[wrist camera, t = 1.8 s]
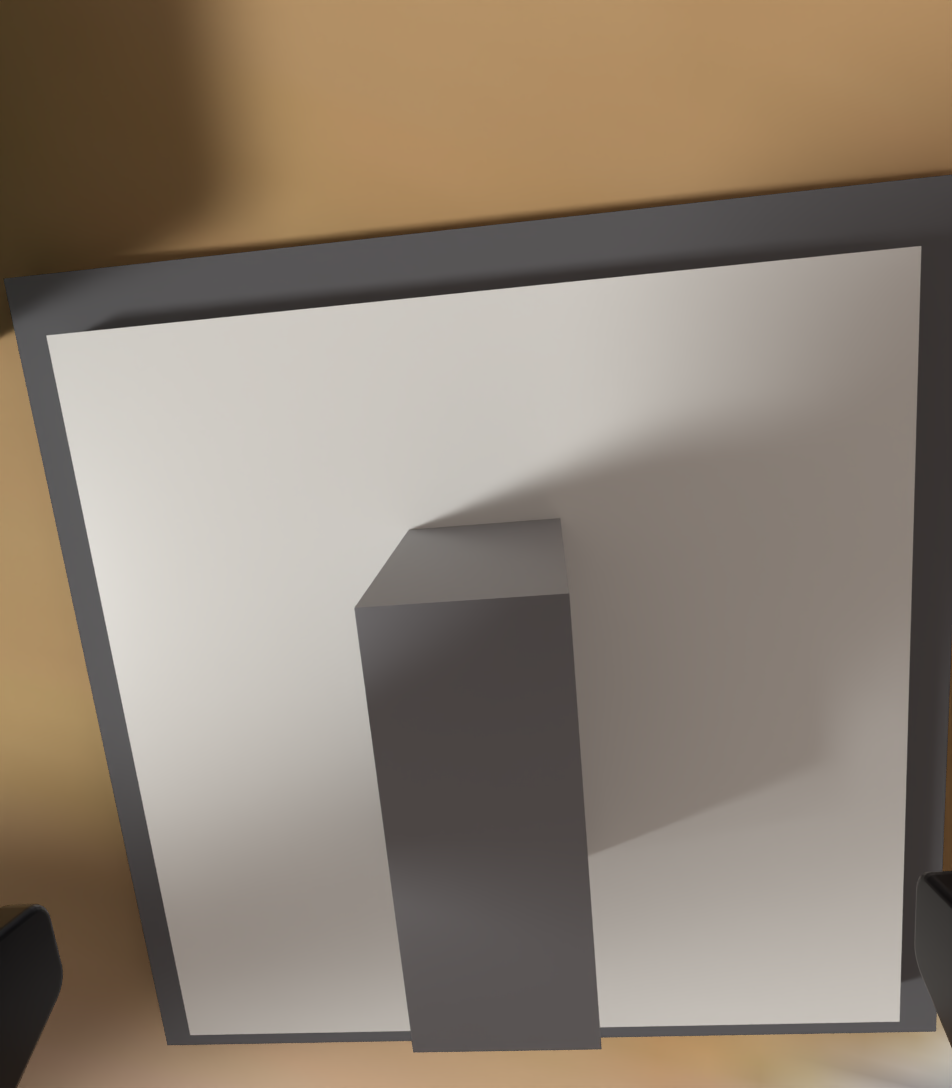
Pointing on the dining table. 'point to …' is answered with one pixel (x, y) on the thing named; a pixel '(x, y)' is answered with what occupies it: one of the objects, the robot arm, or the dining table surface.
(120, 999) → the dining table surface
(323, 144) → the dining table surface
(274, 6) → the dining table surface
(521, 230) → the mat
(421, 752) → the lid
